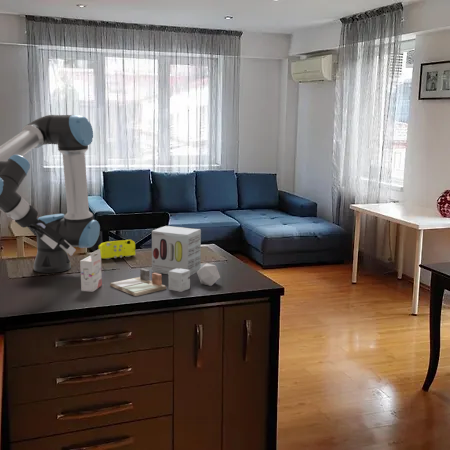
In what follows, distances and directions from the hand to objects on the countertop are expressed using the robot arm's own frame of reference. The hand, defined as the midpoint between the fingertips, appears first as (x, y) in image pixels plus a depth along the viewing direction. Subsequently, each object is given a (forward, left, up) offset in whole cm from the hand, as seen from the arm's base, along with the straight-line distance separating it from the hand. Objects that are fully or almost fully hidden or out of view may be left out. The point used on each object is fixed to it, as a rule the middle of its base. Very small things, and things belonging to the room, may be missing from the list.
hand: (64, 249), depth 212 cm
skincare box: (+22, +36, -17) cm, 45 cm away
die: (+24, +49, -17) cm, 57 cm away
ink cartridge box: (0, +11, -17) cm, 20 cm away
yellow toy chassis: (-37, +45, -17) cm, 61 cm away
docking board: (+10, +25, -17) cm, 32 cm away
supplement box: (+1, +51, -17) cm, 53 cm away
